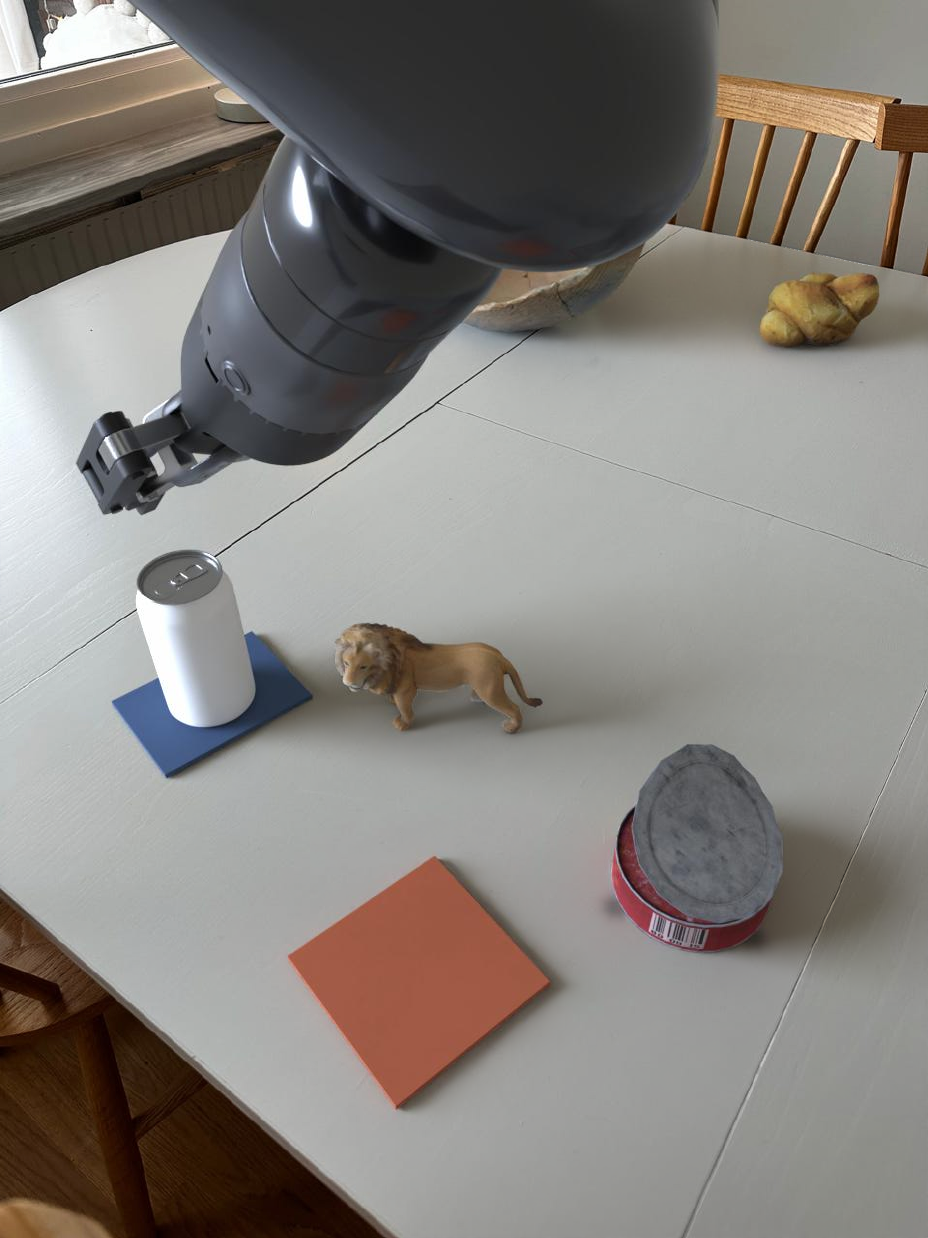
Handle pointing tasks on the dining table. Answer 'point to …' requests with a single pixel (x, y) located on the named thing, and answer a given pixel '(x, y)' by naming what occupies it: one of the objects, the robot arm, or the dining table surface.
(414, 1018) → the terracotta mat
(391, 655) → the lion figurine
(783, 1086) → the dining table surface
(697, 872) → the canned food
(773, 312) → the bread roll
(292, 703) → the blue mat
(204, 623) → the can
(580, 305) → the ceramic bowl
